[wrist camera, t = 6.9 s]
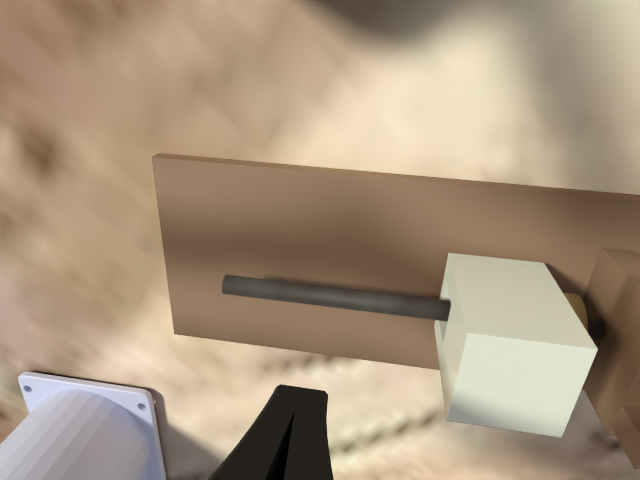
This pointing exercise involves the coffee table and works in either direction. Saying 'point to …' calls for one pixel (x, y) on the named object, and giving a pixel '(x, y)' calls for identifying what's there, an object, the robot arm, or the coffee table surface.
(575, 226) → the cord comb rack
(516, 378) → the sleeve
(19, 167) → the coffee table surface
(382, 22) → the coffee table surface
